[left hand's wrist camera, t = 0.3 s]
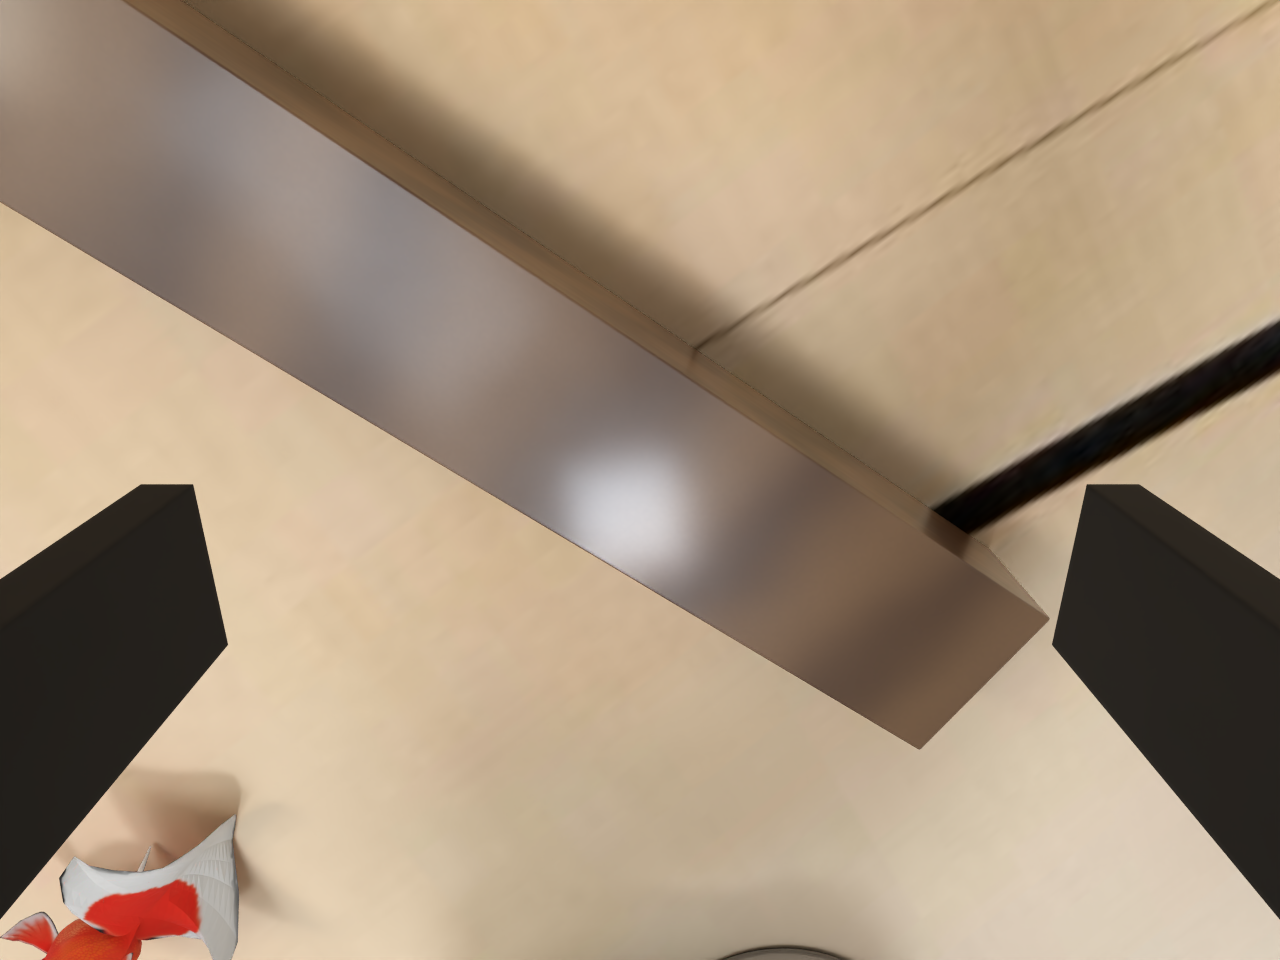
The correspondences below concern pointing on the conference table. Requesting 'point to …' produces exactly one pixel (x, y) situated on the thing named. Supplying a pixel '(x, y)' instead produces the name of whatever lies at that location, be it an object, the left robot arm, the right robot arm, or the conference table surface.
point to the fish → (144, 906)
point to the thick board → (488, 353)
